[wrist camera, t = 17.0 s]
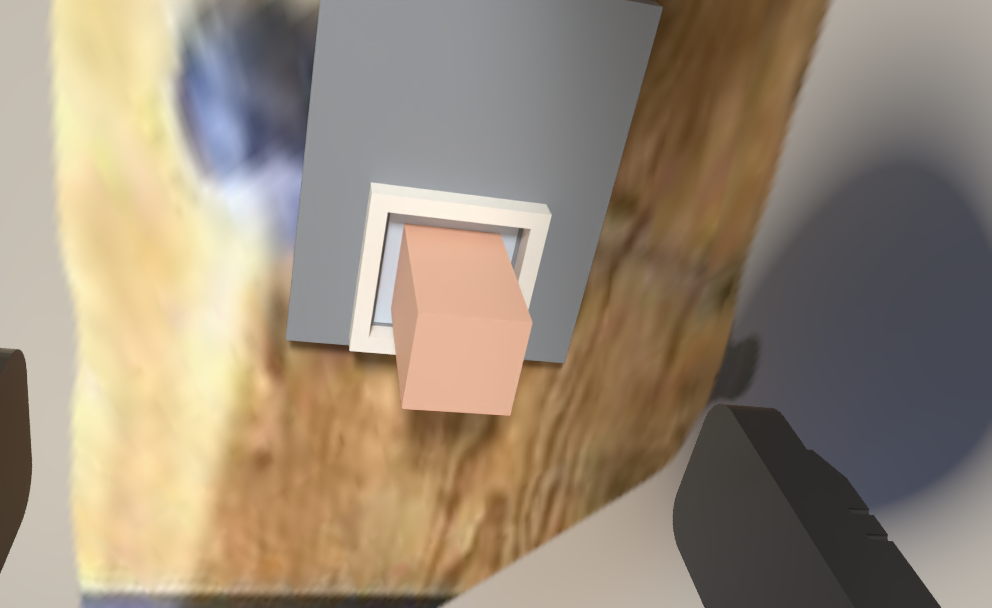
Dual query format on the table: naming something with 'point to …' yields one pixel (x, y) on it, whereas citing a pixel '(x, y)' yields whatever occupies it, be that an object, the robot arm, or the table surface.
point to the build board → (462, 150)
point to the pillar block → (457, 321)
